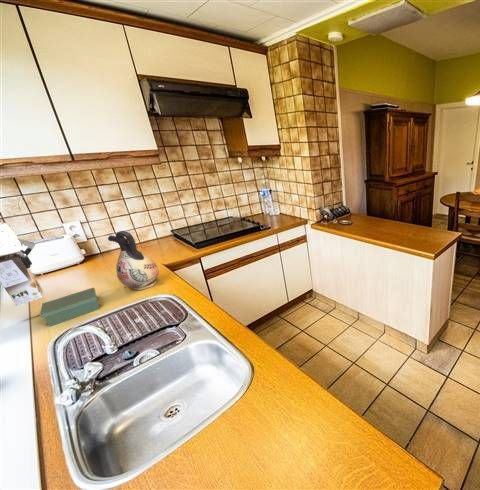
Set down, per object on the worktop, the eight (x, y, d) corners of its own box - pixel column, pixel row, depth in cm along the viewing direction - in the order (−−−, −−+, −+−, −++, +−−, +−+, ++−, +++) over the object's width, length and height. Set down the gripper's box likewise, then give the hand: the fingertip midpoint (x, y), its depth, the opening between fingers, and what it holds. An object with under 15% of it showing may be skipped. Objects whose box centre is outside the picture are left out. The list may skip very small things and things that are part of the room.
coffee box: (43, 297, 96) (18, 257, 89) (16, 306, 91) (-13, 265, 85) (43, 289, 101) (19, 251, 95) (17, 297, 97) (-10, 258, 91)
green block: (47, 327, 106) (39, 315, 104) (49, 314, 114) (42, 303, 112) (101, 308, 117) (95, 296, 114) (99, 298, 124) (93, 287, 122)
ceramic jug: (116, 292, 128) (87, 235, 116) (147, 276, 142) (124, 224, 130) (143, 296, 124) (116, 236, 112) (172, 279, 138) (151, 225, 126)
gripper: (-72, 232, 77) (-32, 285, 84) (20, 217, 88) (48, 265, 95) (-62, 227, 82) (-26, 277, 89) (23, 214, 93) (50, 259, 100)
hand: (12, 270), depth 92 cm, fingers closed on coffee box, 6 cm apart
